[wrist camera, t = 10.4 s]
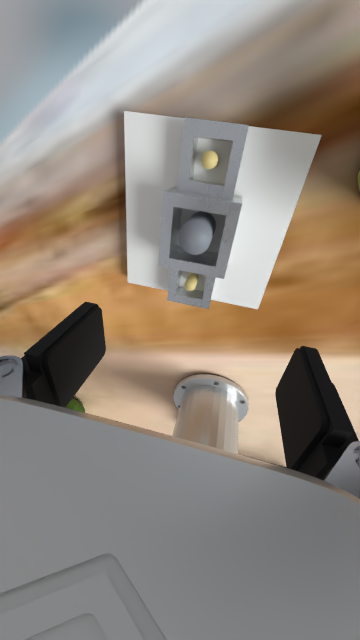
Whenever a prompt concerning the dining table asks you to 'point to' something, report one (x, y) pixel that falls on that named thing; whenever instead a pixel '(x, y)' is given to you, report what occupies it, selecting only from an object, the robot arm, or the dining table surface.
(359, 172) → the plant pot
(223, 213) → the bracket
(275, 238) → the post block
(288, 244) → the dining table surface
